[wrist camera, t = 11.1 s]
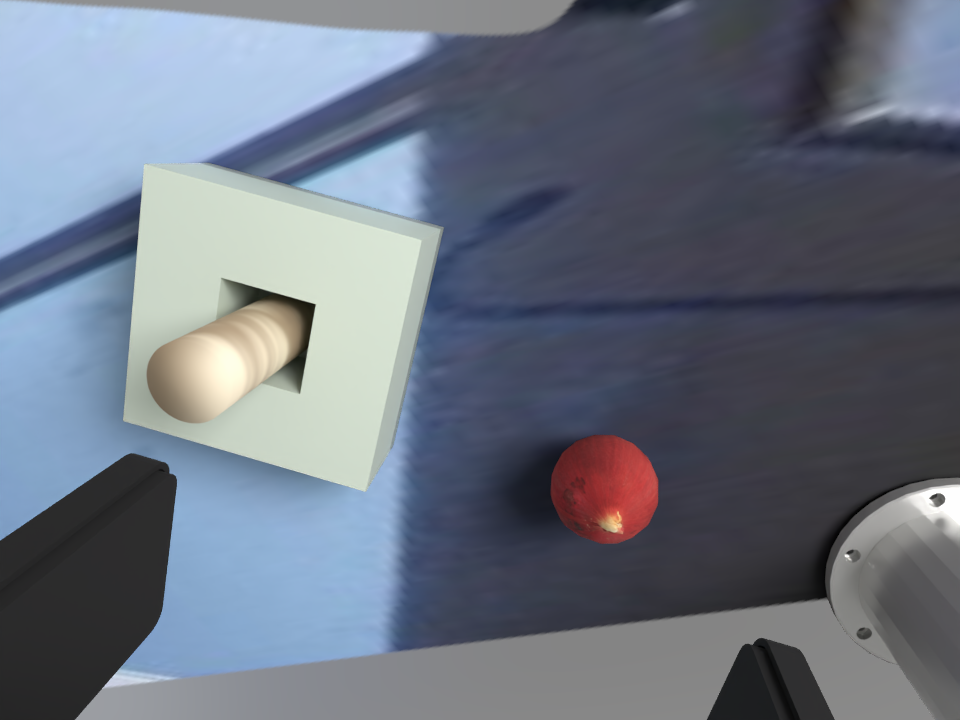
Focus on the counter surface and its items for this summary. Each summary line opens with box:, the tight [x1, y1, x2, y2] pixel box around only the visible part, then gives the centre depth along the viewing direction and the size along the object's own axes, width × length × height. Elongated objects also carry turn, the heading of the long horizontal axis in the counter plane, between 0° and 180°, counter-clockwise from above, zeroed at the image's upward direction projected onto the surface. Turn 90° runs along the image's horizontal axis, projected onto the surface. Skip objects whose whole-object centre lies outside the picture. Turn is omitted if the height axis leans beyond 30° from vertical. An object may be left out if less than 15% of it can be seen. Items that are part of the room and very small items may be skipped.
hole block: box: [123, 163, 444, 492], centre depth 36 cm, size 14×14×6 cm
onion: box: [551, 435, 658, 544], centre depth 36 cm, size 6×6×8 cm
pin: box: [146, 293, 316, 423], centre depth 33 cm, size 4×4×12 cm
